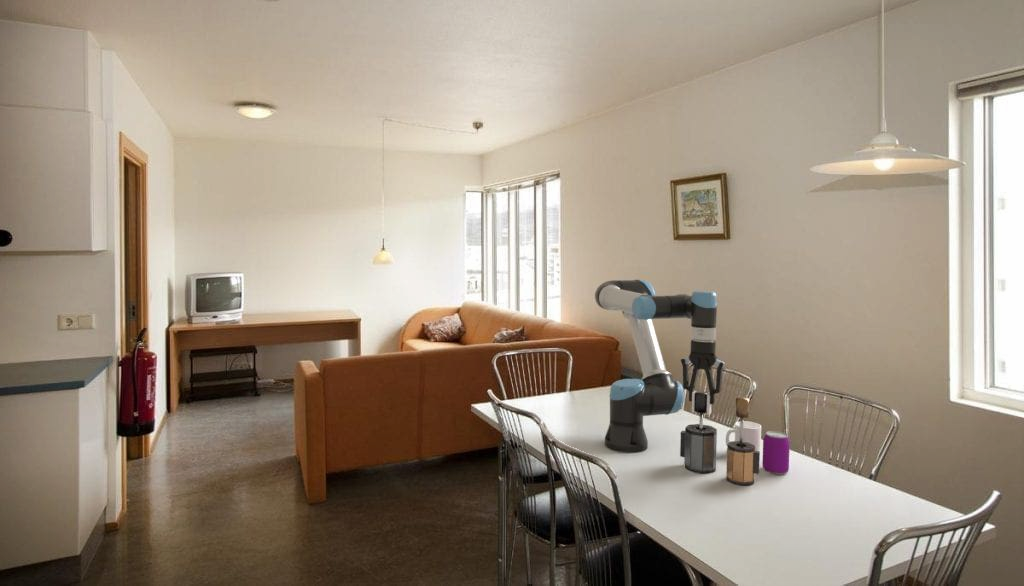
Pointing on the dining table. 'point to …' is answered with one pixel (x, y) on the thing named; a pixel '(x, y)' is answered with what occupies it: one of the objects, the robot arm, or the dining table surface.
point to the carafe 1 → (699, 448)
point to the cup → (747, 434)
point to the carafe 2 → (742, 463)
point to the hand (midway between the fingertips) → (701, 412)
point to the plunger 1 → (701, 405)
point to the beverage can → (776, 452)
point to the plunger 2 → (742, 413)
